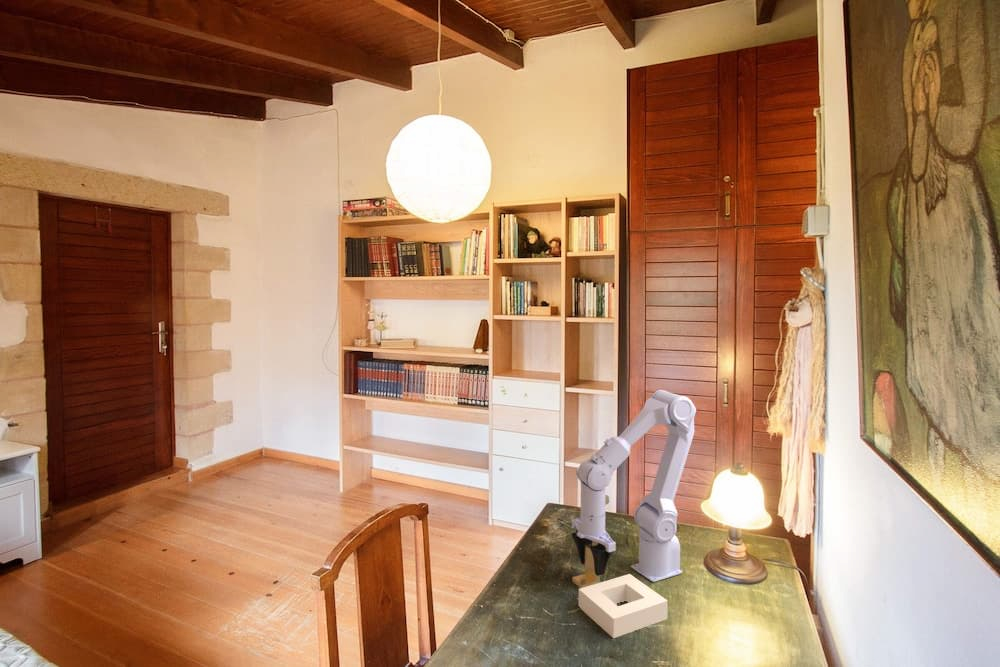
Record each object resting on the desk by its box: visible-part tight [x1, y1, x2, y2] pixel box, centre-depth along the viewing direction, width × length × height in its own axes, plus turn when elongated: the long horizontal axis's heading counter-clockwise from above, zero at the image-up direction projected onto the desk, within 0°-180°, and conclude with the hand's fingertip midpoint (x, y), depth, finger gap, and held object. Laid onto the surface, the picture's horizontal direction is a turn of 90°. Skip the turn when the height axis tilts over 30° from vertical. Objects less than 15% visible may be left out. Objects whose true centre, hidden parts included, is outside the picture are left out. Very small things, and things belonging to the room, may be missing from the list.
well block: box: [578, 573, 669, 639], centre depth 114 cm, size 14×12×4 cm
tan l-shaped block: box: [572, 544, 601, 589], centre depth 125 cm, size 5×4×8 cm
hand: (592, 568), depth 126 cm, fingers open, 5 cm apart
